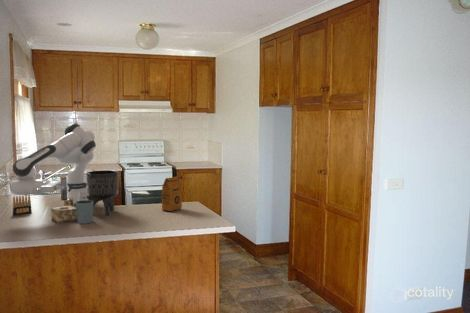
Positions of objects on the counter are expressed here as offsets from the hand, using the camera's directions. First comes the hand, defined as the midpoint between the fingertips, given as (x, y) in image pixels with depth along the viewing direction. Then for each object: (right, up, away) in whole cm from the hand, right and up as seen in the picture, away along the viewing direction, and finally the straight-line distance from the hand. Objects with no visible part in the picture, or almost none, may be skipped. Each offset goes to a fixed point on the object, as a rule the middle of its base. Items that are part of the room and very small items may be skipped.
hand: (65, 186), depth 253 cm
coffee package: (+59, -18, +30) cm, 68 cm away
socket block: (-1, -20, +2) cm, 20 cm away
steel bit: (-1, -8, +1) cm, 8 cm away
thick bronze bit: (-3, -19, +14) cm, 24 cm away
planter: (+17, -19, +19) cm, 32 cm away
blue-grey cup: (+13, -21, -3) cm, 24 cm away
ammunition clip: (-33, -19, +16) cm, 42 cm away
